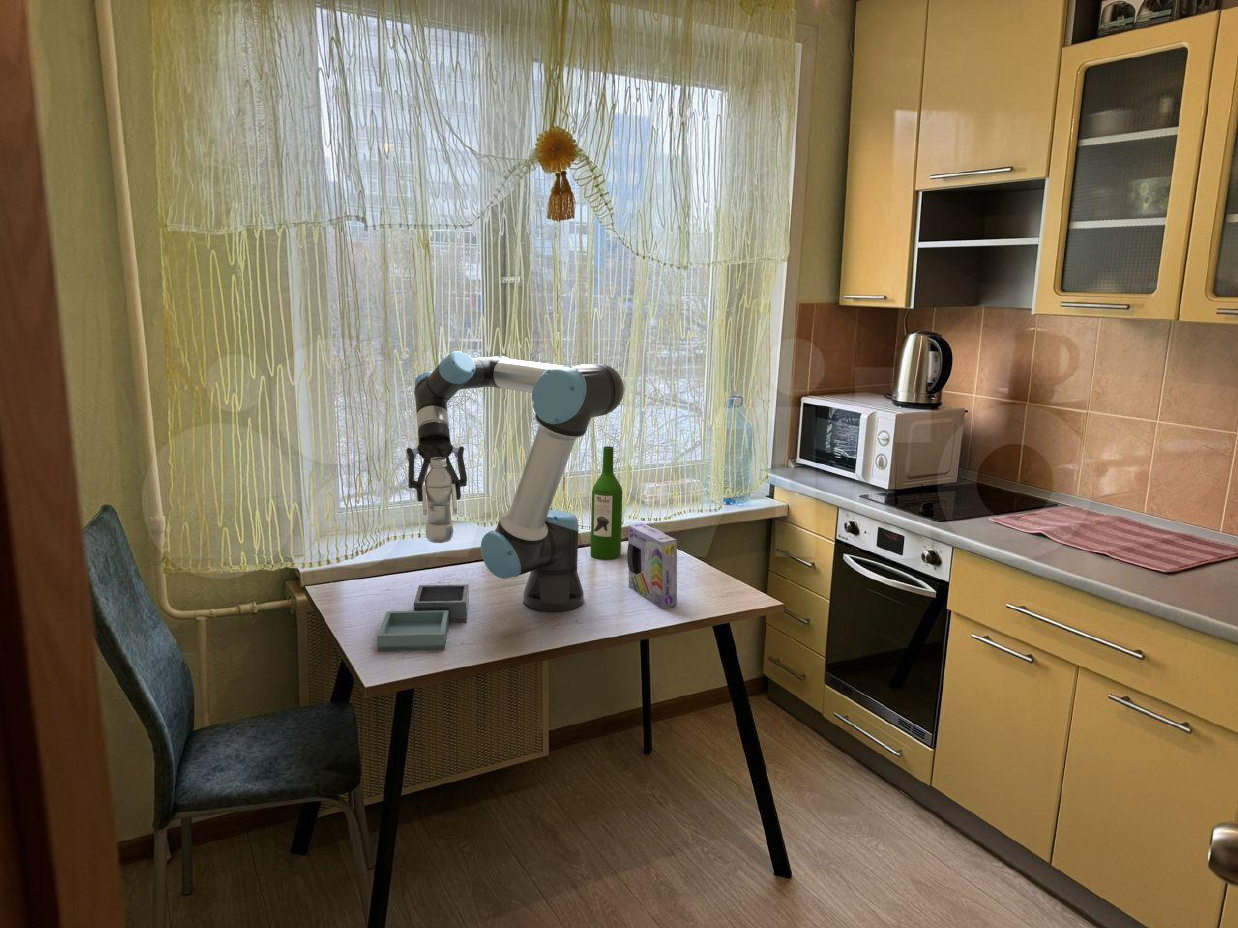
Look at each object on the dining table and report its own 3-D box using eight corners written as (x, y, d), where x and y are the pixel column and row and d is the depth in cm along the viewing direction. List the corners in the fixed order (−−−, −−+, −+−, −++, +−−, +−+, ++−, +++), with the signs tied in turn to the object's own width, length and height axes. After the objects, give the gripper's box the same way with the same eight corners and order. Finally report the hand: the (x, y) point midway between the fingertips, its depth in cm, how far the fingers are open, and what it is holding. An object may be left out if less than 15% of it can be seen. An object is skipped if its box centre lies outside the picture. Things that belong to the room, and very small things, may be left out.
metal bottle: (429, 547, 199) (428, 462, 195) (422, 539, 205) (420, 456, 201) (457, 544, 202) (456, 460, 198) (448, 536, 208) (447, 455, 204)
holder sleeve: (468, 603, 214) (468, 584, 213) (466, 622, 202) (466, 602, 201) (419, 604, 212) (419, 585, 211) (414, 623, 201) (413, 603, 200)
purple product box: (624, 585, 230) (626, 521, 226) (641, 583, 232) (643, 520, 228) (660, 610, 213) (663, 542, 209) (677, 607, 215) (680, 539, 212)
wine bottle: (587, 558, 251) (590, 449, 244) (593, 549, 260) (596, 443, 253) (617, 561, 250) (621, 451, 243) (622, 552, 258) (626, 445, 251)
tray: (448, 624, 201) (448, 610, 200) (444, 649, 187) (444, 634, 187) (387, 625, 199) (386, 611, 198) (377, 651, 186) (377, 635, 185)
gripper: (471, 437, 216) (480, 517, 204) (392, 438, 210) (397, 521, 199) (474, 419, 210) (483, 501, 198) (393, 421, 204) (397, 505, 193)
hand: (440, 511), depth 198 cm, fingers closed on metal bottle, 6 cm apart
